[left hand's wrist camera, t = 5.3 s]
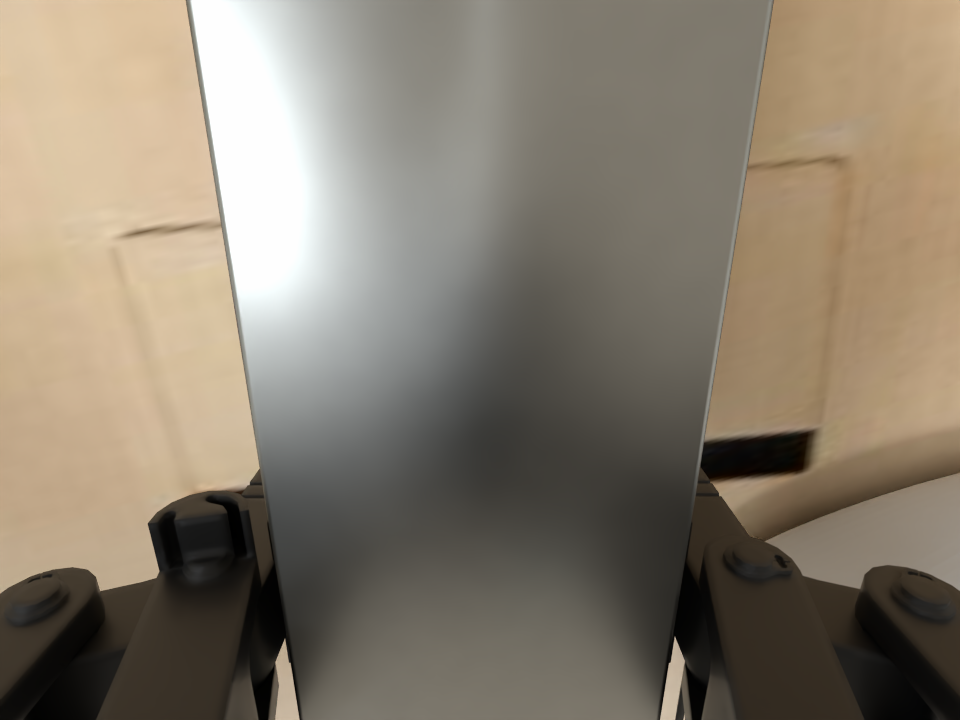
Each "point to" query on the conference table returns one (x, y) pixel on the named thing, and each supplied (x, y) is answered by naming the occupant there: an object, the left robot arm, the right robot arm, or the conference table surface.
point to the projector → (883, 536)
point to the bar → (479, 331)
